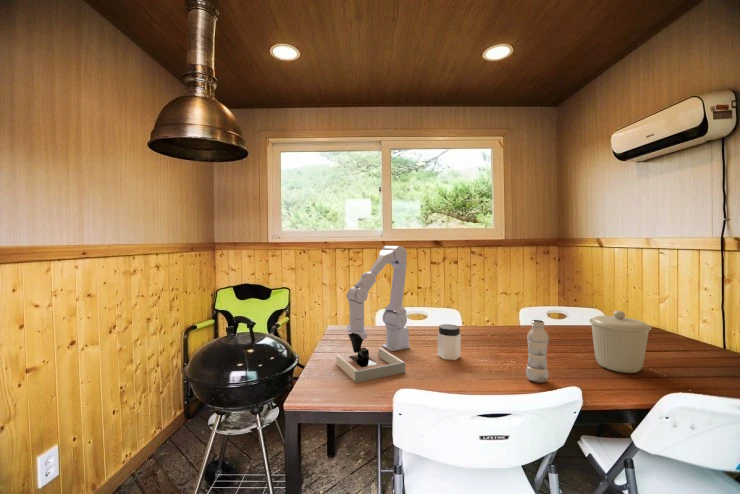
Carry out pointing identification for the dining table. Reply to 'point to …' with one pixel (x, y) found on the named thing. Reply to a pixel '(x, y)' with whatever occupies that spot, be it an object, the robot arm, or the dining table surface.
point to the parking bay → (376, 372)
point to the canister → (619, 342)
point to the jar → (449, 342)
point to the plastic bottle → (537, 352)
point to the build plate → (363, 358)
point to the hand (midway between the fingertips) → (356, 352)
